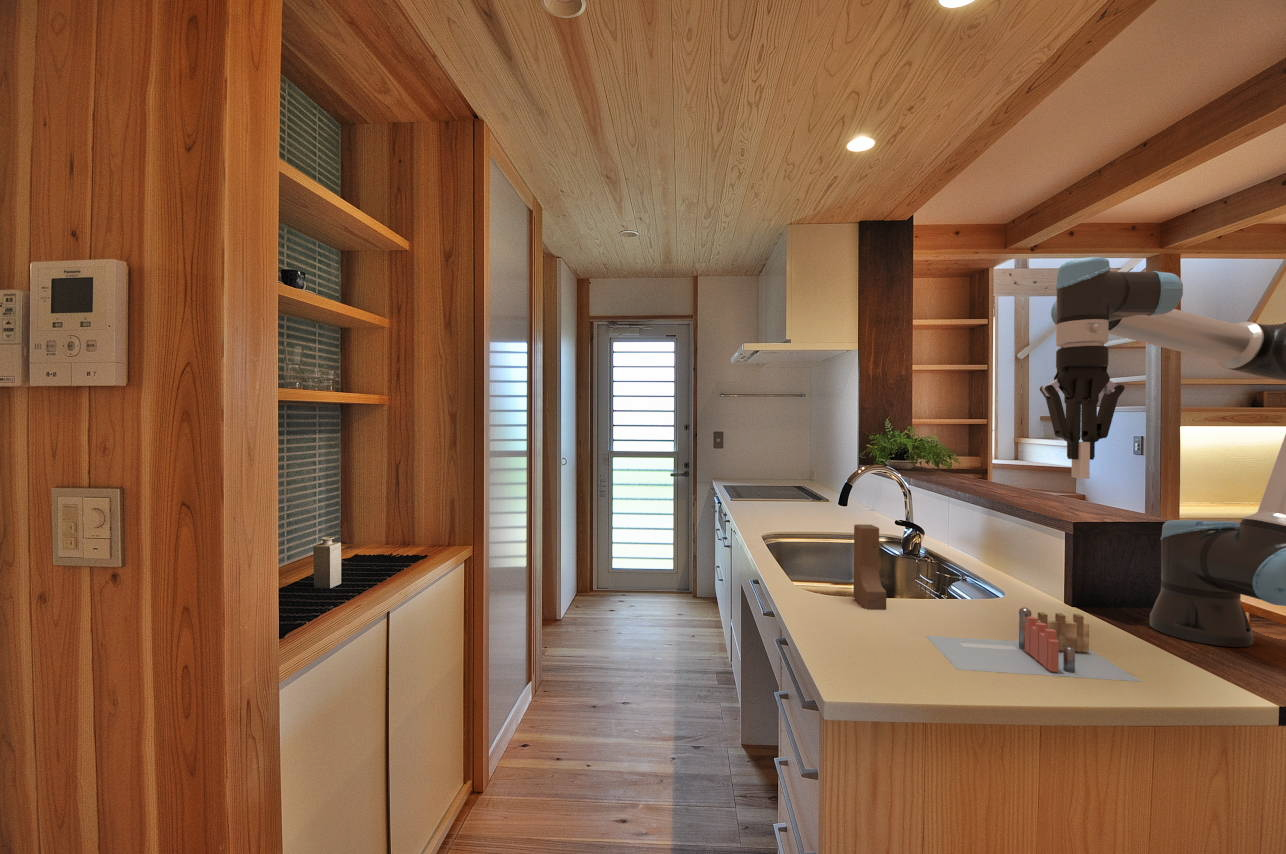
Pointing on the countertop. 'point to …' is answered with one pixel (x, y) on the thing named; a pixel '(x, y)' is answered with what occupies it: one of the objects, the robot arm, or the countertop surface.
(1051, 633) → the fence panel
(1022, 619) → the post
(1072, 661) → the peg
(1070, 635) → the fence fixed
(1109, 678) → the card
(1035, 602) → the countertop surface
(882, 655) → the countertop surface
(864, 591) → the wooden block
